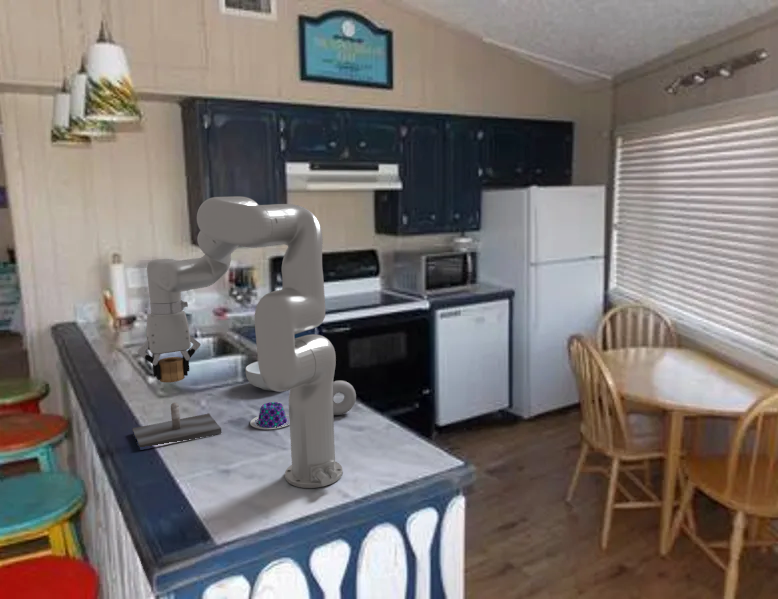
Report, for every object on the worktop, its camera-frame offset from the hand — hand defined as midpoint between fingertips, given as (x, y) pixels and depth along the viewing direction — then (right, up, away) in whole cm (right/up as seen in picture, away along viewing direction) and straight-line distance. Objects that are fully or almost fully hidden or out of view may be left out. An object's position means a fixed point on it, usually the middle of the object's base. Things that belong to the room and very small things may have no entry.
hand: (171, 375), depth 158 cm
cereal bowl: (+19, -9, +41) cm, 46 cm away
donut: (+42, -13, +14) cm, 46 cm away
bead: (0, -1, 0) cm, 1 cm away
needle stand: (0, -16, +3) cm, 16 cm away
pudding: (+24, -14, +10) cm, 30 cm away
